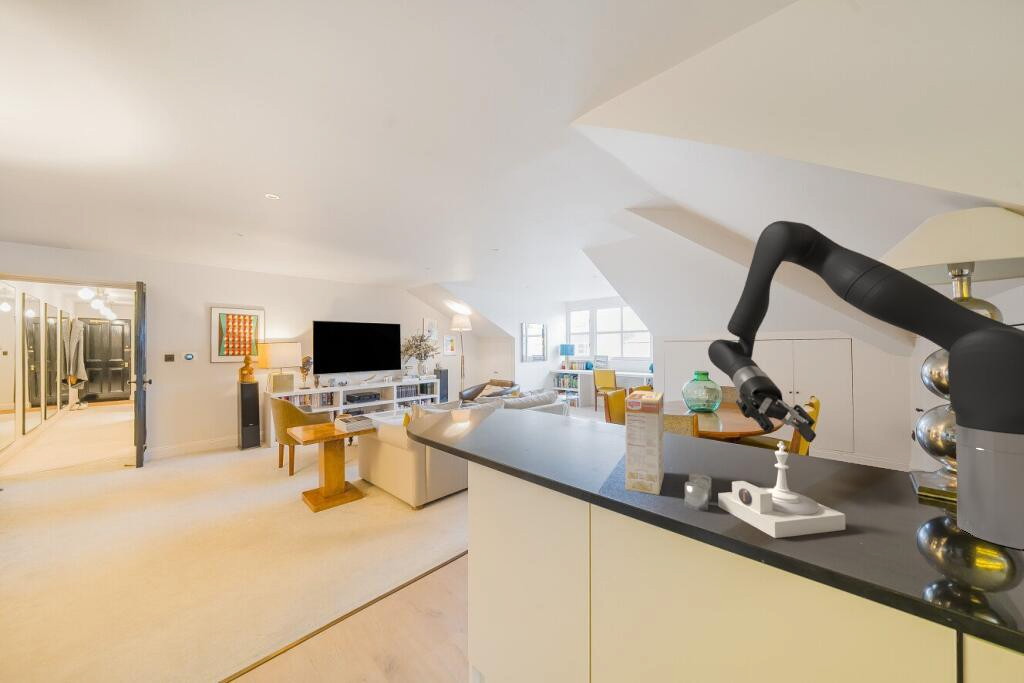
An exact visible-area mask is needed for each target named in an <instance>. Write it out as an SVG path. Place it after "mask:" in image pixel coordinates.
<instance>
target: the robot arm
mask: <svg viewBox="0 0 1024 683" xmlns="http://www.w3.org/2000/svg"><path fill="white" fill-rule="evenodd" d="M754 248H755V249H754V252H753V256H752V259H751V262H750V263H751V264H750V267H749V269H748V272H747V273H748V274H747V277H746V280H745V282H744V287H743V290H742V292H741V295H740V297H739V300H738V302H737V305H736V307H735V308H734V310H733V313H732V315H731V317H730V319H729V322H728V324H727V327H726V328H727V331H728V332H729V333H730V334H731V335H733V336H735V337H737V338H738V340H737V341H733V340H727V339H721V338H720V339H715V340H713V341H712V342H710V344H709V346H708V351H707V354H708V358H709V360H710V361H711V363H712V364H713V365H714V366H715V367H716V368H717V369H719V370H720V371H721V372H722V373H724V374H725V375H727V376H728V377H729V379H730V381H731V382H732V384H734V388H735V389H736V391H737V392H738V394H739V396H738V397H737V399H736V401H735V403H736V404H737V406H738V408H739V410H740V411H741V413H742V415H743V416H744V417H745V418H747V419H750V418H752V419H753V421H754V422H756V423H757V424H758V426H759V427H760V428H761V429H762V430H763V431H764V433H766V434H771V433H772V431H773V430H774V429H775V424H774V423H773V422H772V420H771V419H776V420H779V421H780V422H782V423H783V424H784V425H786V426H789V425H790V426H791V427H793V428H795V430H797V432H798V433H799V434H800V436H801V437H802V438H803V439H804V440H805V442H808V443H812V442H813V441H814V440H815V438H816V437H817V433H815V431H814V430H813V429H812V427H813V425H814V424H815V423H816V421H815V419H813V418H812V417H811V416H810V414H808V412H807V411H806V409H804V408H803V407H802V406H801V405H799V404H795V405H794V406H789V404H787V403H786V402H785V401H784V400H783V394H782V391H781V390H780V388H779V387H778V386H777V384H775V382H774V381H773V380H772V379H771V378H770V377H769V376H768V374H767V373H766V372H764V371H763V370H762V369H761V368H760V367H759V365H758V364H757V363H756V362H755V361H754V360H753V359H752V358H753V353H754V352H753V351H754V345H755V342H756V336H757V333H758V331H759V329H760V327H761V325H762V323H763V321H764V320H765V317H766V315H767V313H768V310H769V306H770V296H771V293H770V292H771V285H772V281H773V278H774V276H775V273H776V271H777V270H778V269H779V267H780V266H781V264H782V262H785V263H786V262H787V263H788V262H789V263H792V264H795V265H797V266H800V267H802V268H804V269H807V270H809V271H810V272H812V273H814V274H816V275H817V276H818V277H820V278H821V279H822V280H823V282H825V284H826V285H827V286H828V287H829V289H831V291H832V292H833V293H834V294H835V295H836V296H837V297H839V298H840V299H842V300H843V301H845V303H848V304H849V305H850V306H852V307H853V308H856V309H858V310H859V311H861V313H862V312H863V313H864V314H866V315H868V316H870V317H873V318H875V319H876V320H879V321H881V322H884V323H887V324H889V325H892V326H894V327H896V328H899V329H902V330H905V331H908V332H910V333H913V334H915V335H918V336H920V337H922V338H924V339H926V340H928V341H930V342H932V343H934V344H935V345H937V346H938V347H940V348H942V349H943V350H944V351H946V352H948V353H949V354H948V358H947V359H948V360H947V373H948V375H947V376H948V388H949V389H948V391H949V393H948V394H949V402H950V407H951V408H952V410H953V413H954V415H955V443H956V444H955V445H956V446H955V447H956V450H955V451H956V454H955V455H956V526H957V528H958V527H959V528H960V530H961V529H962V530H964V531H966V532H968V533H970V534H971V535H970V534H969V535H970V536H972V535H973V536H972V537H976V538H977V539H978V538H979V539H981V540H983V541H987V542H989V543H993V544H996V545H1000V546H1003V547H1004V546H1005V547H1007V548H1008V547H1009V548H1014V549H1019V550H1023V549H1024V329H1021V328H1017V327H1015V326H1012V325H1010V324H1008V323H1007V324H1006V323H1003V322H1002V321H998V320H996V319H994V318H991V317H989V316H986V315H984V314H981V313H979V312H976V311H974V310H972V309H970V308H967V307H966V306H963V305H961V304H960V303H958V302H956V301H954V300H953V299H950V298H949V297H948V296H946V295H945V294H942V293H941V292H939V291H938V290H936V289H935V288H932V287H930V286H929V285H927V284H925V283H923V282H921V281H920V280H917V279H916V278H914V277H912V276H910V275H908V274H907V273H905V272H903V271H900V270H899V269H897V268H895V267H892V266H890V265H888V264H886V263H884V262H882V261H879V260H877V259H875V258H872V257H869V256H867V255H866V254H862V253H861V252H857V251H855V250H851V249H849V248H846V247H844V246H842V245H840V244H839V243H836V242H835V241H834V240H832V239H830V238H829V237H828V236H826V235H824V234H823V233H821V232H820V231H818V230H817V229H816V228H814V227H812V226H810V225H809V224H806V223H803V222H796V221H789V220H777V221H773V222H772V223H770V224H768V225H767V226H766V227H764V229H763V230H762V231H761V233H760V235H759V237H758V239H757V243H756V245H755V247H754ZM788 413H789V414H790V416H789V417H788V419H787V418H786V417H787V415H788ZM795 421H796V422H797V423H796V422H795ZM959 528H958V529H959ZM962 530H961V531H962ZM964 531H963V532H964ZM966 532H965V533H966ZM968 533H967V534H968Z"/></svg>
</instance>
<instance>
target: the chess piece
mask: <svg viewBox="0 0 1024 683" xmlns="http://www.w3.org/2000/svg"><path fill="white" fill-rule="evenodd" d="M784 444H785V443H784V441H780V440H779V442H778V443H777V444H776V445H777V447H778V448H779V449H778V450H776V451H774V454H775V457H776V460H777V463H775V464H774V467H775V468H778V470H777V478H776V483H775V486H773V487H771V488H772V489H767V490H766V491H768V492H770V493H772V500H775V501H778V502H783V503H798V502H799V497H798V496H797V495H796V494H795V493H796V492H795V493H793V492H794V491H791V490H790V489H789V488H788V482H787V477H786V470H787V469H790V467H789V465H787V464H786V462H787V460H788V457H789V453H788V452H787V451H784V450H786V445H784ZM790 491H791V492H790Z"/></svg>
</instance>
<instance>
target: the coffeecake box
mask: <svg viewBox="0 0 1024 683" xmlns="http://www.w3.org/2000/svg"><path fill="white" fill-rule="evenodd" d="M664 397H665V396H664V392H660V391H649V390H647V391H646V390H634V391H633V392H631V393H630V394H629V395H628V396H627V397H625V398H624V403H625V404H624V407H625V410H624V412H625V415H624V416H625V418H624V419H625V490H626V491H630V492H631V491H632V492H638V493H645V494H649V495H657V496H659V495H660V493H661V490H662V484H663V481H664V476H665V456H664V455H665V443H664V442H665V440H664V438H665V435H664V432H665V428H664V426H665V424H664V422H665V421H664V419H665V418H664V417H665V416H664V410H665V408H664Z"/></svg>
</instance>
